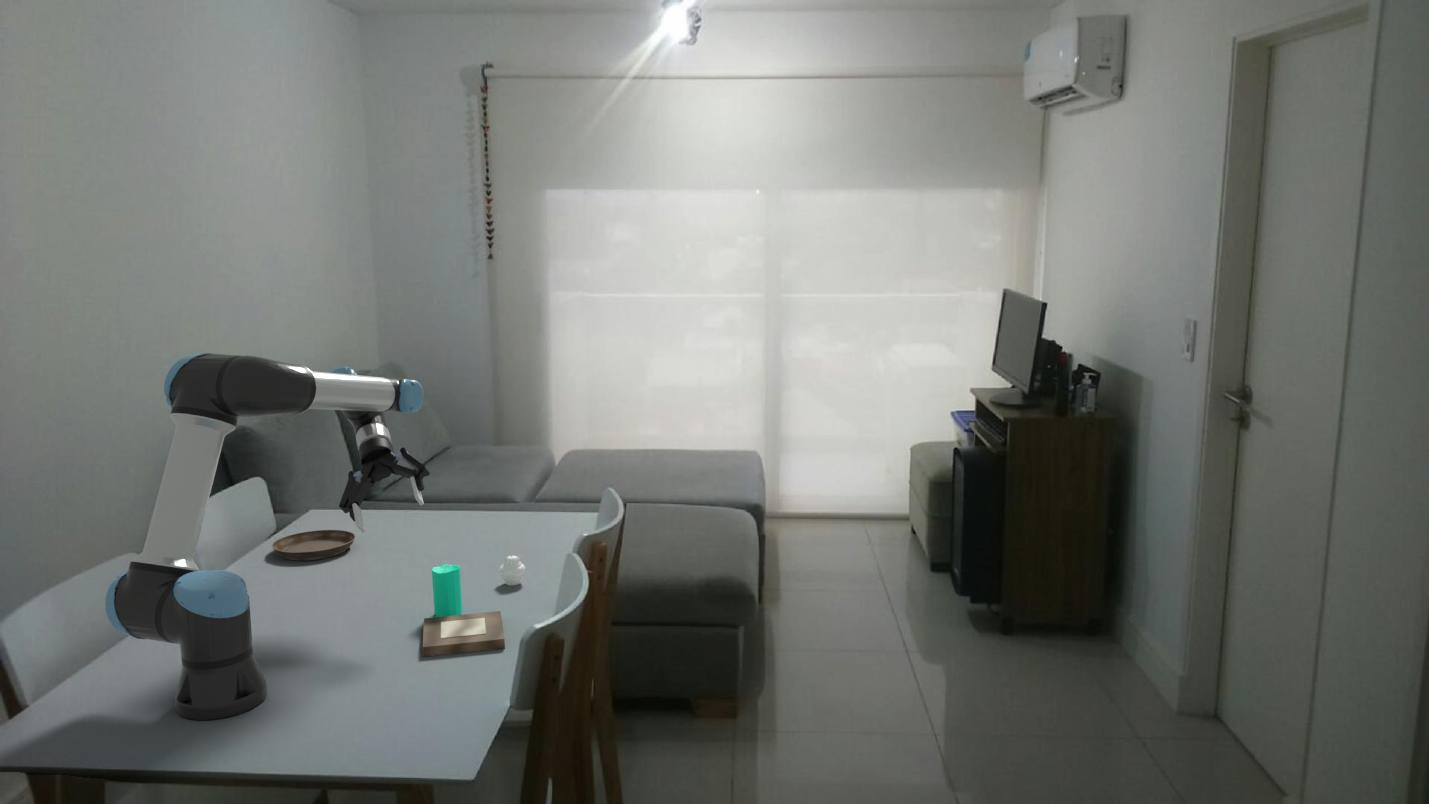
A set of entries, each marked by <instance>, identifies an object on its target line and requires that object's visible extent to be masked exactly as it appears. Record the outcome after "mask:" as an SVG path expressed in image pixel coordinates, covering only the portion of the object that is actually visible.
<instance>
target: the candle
mask: <svg viewBox="0 0 1429 804" xmlns="http://www.w3.org/2000/svg"><path fill="white" fill-rule="evenodd" d="M444 562H445V563H444V564H441V565H439V566H433V568H431V575H432V577H431V578H432V592H433V611H434V616H435V615H436V616H435V617H443V616H454V615H462V614H463V596H462V579H461V566H460V565H459V564H454V565H453V564H448V563H447V561H446V560H445V561H444ZM461 613H462V614H461Z"/></svg>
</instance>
